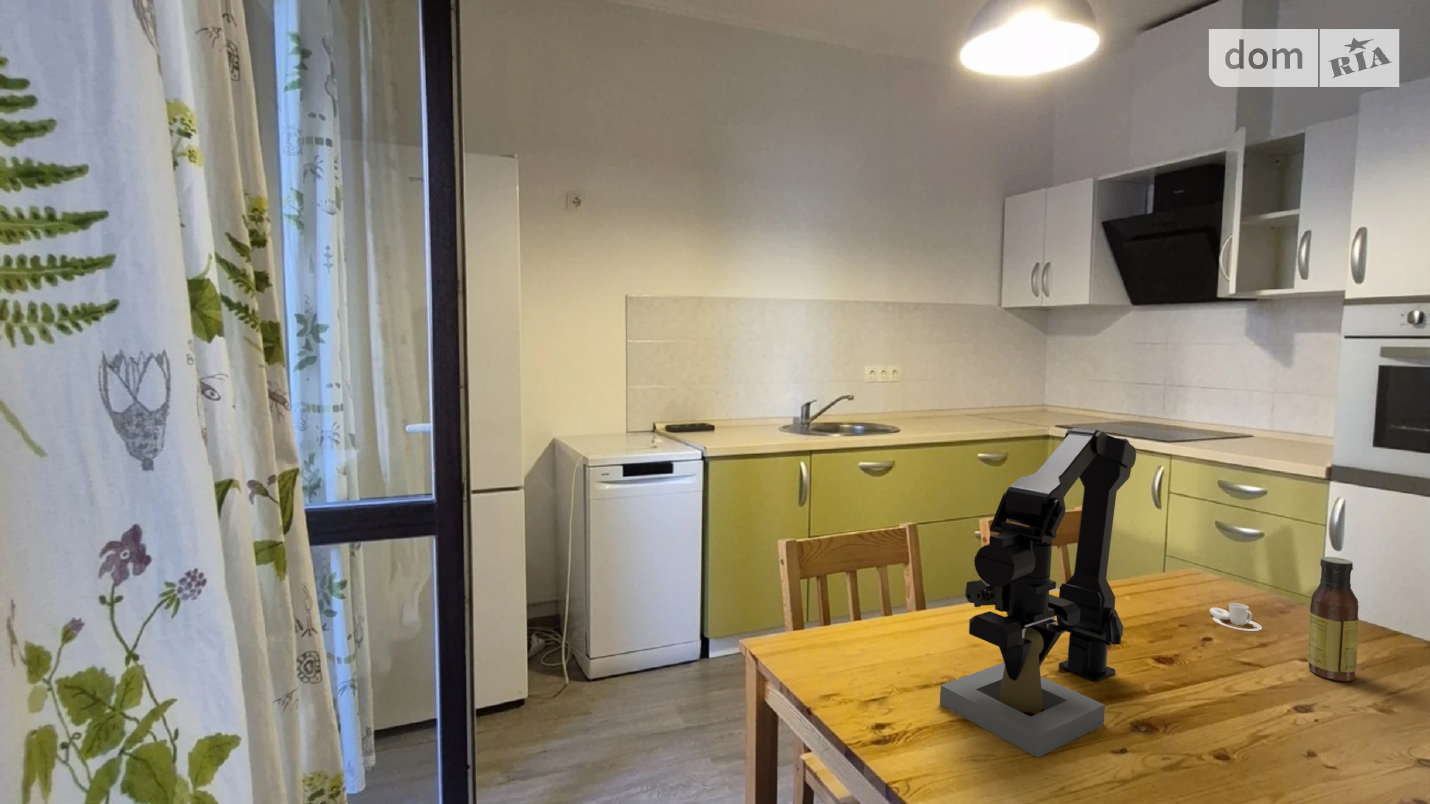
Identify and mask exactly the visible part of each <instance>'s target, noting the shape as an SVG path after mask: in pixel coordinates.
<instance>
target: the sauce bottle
mask: <svg viewBox="0 0 1430 804" xmlns="http://www.w3.org/2000/svg"><path fill="white" fill-rule="evenodd" d="M1319 563H1320V567H1321V572H1320V573H1321V575H1320V580H1319V582H1320V583H1319V585H1318V586H1317V587H1316V589H1315V590H1314V591H1313V593H1312V594H1311V595H1312V596H1311V601H1310V607H1309V622H1308V626H1309V627H1308V645H1307V646H1308V647H1307V661H1308V669H1309V670H1310V672H1311V673H1313V674H1315V675H1317V676H1319V677H1321V678H1324V679H1329V680H1333V681H1337V682H1345V683H1346V682H1352V681H1354V680H1355V677H1356V671H1357V663H1358V662H1357V661H1358V645H1359V644H1358V643H1359V624H1360V623H1359V622H1360V620H1359V619H1360V618H1359V607H1360V606H1359V600H1358V598H1357V597H1356V594H1355V593H1354V591H1353V590H1352V588H1351V586H1352V584H1351V575H1352V574H1351V573H1352V571H1353V570H1354V567H1353V565H1354V564H1353V562H1352V560H1349V559H1346V558H1341V557H1335V556H1323V557H1321V558H1320V562H1319Z"/></svg>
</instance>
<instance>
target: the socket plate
mask: <svg viewBox="0 0 1430 804" xmlns="http://www.w3.org/2000/svg"><path fill="white" fill-rule="evenodd" d="M1004 668H1005V663H1004V661H1003V662H1001V663H998V664H996V665H993V666H990V667H986V668H985V669H981V670H978V671H976V672H974V673H970V674H968V675H965V676H962V677H959V678H957V679H954V680H952V681H948V682H945V683H943V684H941V685H940V692H939V705H940V706H941V707H944V708H946V709H947V710H949V711H951V712H953V713H955V714H957V715H958V716H960V717H962V718H964V719H965V720H968V721H969V722H972V723H973V724H975V725H977V726H979V727H981V728H983V729H984V730H986V731H988V732H990V733H991V734H993V735H995V736H997V737H998V738H1000V739H1003V740H1004V741H1006V742H1007V743H1009V744H1012V745H1013V746H1016V747H1018V748H1019V749H1021V750H1023V751H1024V752H1026V753H1027V754H1030V755H1031V756H1033V757H1036V758H1037V759H1038V758H1040V757H1043V756H1044V755H1046V754H1048V753H1050V752H1052V751H1054V750H1056V749H1058V748H1060V747H1062V746H1064V745H1066V744H1068V743H1071V742H1072V741H1074V740H1076V739H1078V738H1079V737H1082V736H1085V735H1086V734H1088V733H1090V732H1092V731H1094V730H1096V729H1098V728H1100V727H1102V726H1104V724H1105V713H1106V712H1105V709H1106V704H1104V703H1102V702H1100V701H1098V700H1095V699H1093V698H1091V697H1088V696H1086V695H1084V694H1081V693H1079V692H1077V691H1075V690H1073V689H1070V688H1068V687H1066V686H1063V685H1061V684H1058V683H1056V682H1054V681H1052V680H1049V679H1048V678H1046V677H1043V676H1041V688H1042V701H1043V708H1042V709H1043V711H1039V712H1038V713H1036V714H1034V715H1031V716H1030V715H1028V714H1026V713H1025V712H1022V711H1018V710H1016V709H1014V708H1012V707H1010V706H1008V705H1006V704H1004V703H1002V702H1000V700H999V692H1000V687H1001V683H1002V678H1003V673H1004Z"/></svg>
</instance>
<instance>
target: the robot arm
mask: <svg viewBox="0 0 1430 804" xmlns="http://www.w3.org/2000/svg"><path fill="white" fill-rule="evenodd" d="M1136 459H1137V450H1136V447H1135V446H1134V445H1132V444H1131V443H1130V441H1129V440H1128V439H1127V438H1121V437H1115V436H1111V435H1108V434H1107V433H1106V432H1104V431H1100V430H1099V429H1094V428H1082V427H1073V428H1068V429H1067V430H1066V433H1065V435H1064V439H1063V440H1062V441H1061V443H1060V444H1059V445H1058V446H1057V447H1056V449H1055V450H1054V451H1053V452H1052V453H1051V454H1050V456H1049V457H1048V458H1047V460H1045V462H1044V463H1043V464H1042V465H1041V466H1040V468H1038V470H1037V471H1036V472H1035V473H1031V474H1028V475H1024V476H1021V477H1019V478H1018V479H1017V480H1016V481H1014V482H1013V483H1012V484H1010V485H1009V486H1008V488H1007V489H1006V490H1005V491H1004V492H1003V494H1002V497H1001V499H1000V502H999V504H998V507H997V509H996V511H995V514H994V517H993V519H992V521H991V524H990V527H989V531H990V532H993V533H995V534H991V535H989V539H988V540H989V543H988V544H986V545H983V546H982V547H981V548H979V549H978V551H977V552H976V554H975V556H974V561H973V562H974V568H975V571H976V573H977V575H978V577H979V578H980V579H977V580H974V579H973V580H970V581H967V582H966V586H965V592H964V593H965V594H964V596H965V598H966V599H967V602H968V603H970V604H973V606H974V608H980V607H981V606H983V607H984V606H986V607H987V606H994V610H995V611H999V612H1001V613H1002V612H1005V613H1006V616H1003V615H1001V614H999V613H995V612H993V611H990V610H989V611H985V612H983V613H979V614H976V615H974V616H973V617H971V618H969V621H968V634H969V635H971V636H973V637H976V638H977V639H980V640H982V641H985V642H986V643H987V642H988V643H989V644H992V645H994V646H996V647H998V648H999V650H1000V653H1001V656H1002V657H1001V658H1002V659H1003V660H1002V661H1003V662H1004V663H1005V667H1006V670H1007V673H1008V677H1009V678H1010V679H1012V680H1014V681H1016V680H1017V678H1018V676H1019V675H1020V672H1021V670H1022V667H1023V665H1024V662H1025V659H1026V657H1027V654H1028V652H1029V649H1030V646H1031V644H1032V641H1030V640H1027V639H1025V638H1024V636H1025V630H1026V627H1029V628H1032V629H1035V630H1036V631H1038V632H1039V633H1040V634H1041V635H1042V637H1043V642H1044V647H1043V650H1042V652H1041V653H1040V654H1039V664H1040V667H1041V666H1042V664H1043V663H1044V661H1045V659H1046V657H1048V655H1049V654H1050V652H1051V650H1052V649H1053V647H1054V646H1055V644H1056V642H1057V641H1058V640H1059V639H1060V638H1061V636H1062V634H1064V633H1066V632H1067V633H1069V636H1068V647H1067V659H1066V660H1062V661H1061V662H1058V667H1060V668H1061V669H1064V670H1066V671H1069V672H1071V673H1074V674H1076V675H1079V676H1081V677H1083V678H1085V679H1088V680H1091V681H1092V682H1097V681H1100V680H1102V679H1105V678H1108V677H1109V676H1112V675H1114V674H1115V673H1116V671H1117V670H1116V669H1115V668H1112V667H1110V666H1107V663H1108V651H1109V650H1108V649H1109V647H1112V645H1121V644H1122V636H1123V635H1124V632H1123V631H1124V625H1123V623H1122V621H1121V619H1120V616H1119V615H1118V614H1119V613H1118V611H1117V610H1116V609H1115V608H1116V595H1115V593H1114V592H1113V590H1112V588H1111V585H1110V584H1109V581H1108V580H1107V579H1108V578H1107V574H1108V568H1109V567H1108V566H1109V559H1110V558H1109V557H1110V552H1111V551H1110V549H1111V541H1112V532H1113V526H1114V517H1115V510H1116V509H1115V506H1116V500H1117V499H1116V498H1117V493H1118V491H1119V490H1120V489H1121V487H1122V486H1123V485H1125V483H1126V482H1127V481H1128V480H1129V478H1130V477H1131V472H1132V468H1134V465H1135V462H1136ZM1078 479H1079V480H1080V482H1081V484H1082V485H1083V494H1082V495H1083V496H1082V505H1081V511H1080V512H1081V513H1080V519H1079V520H1080V521H1079V528H1078V539H1077V545H1076V555H1075V561H1074V562H1075V563H1074V571H1073V574H1072V576H1071V577H1069V578H1068V580H1067V581H1066V582H1063V583H1061V585H1060V587H1059V591H1058V593H1059V595H1058V596H1057V595H1053V594H1050V591H1052V590H1055V589H1056V588H1057V581H1055V580H1053V579H1051V568H1052V553H1053V552H1052V551H1053V550H1052V549H1053V540H1055V539H1056V538H1057V537H1058V535H1057V531H1058V529H1059V527H1060V525H1061V523H1062V521H1063V518H1064V517H1065V514H1066V510H1067V509H1066V502H1065V497H1066V495H1067V494H1068V492H1069V491H1070V489H1071V488H1072V487H1073V486H1074V485H1075V483H1076V481H1077V480H1078ZM1007 521H1008V522H1007ZM997 533H998V534H997Z"/></svg>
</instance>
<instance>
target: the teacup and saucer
mask: <svg viewBox="0 0 1430 804" xmlns="http://www.w3.org/2000/svg"><path fill="white" fill-rule="evenodd" d="M1228 605H1229V606H1228V607H1229V609H1228V610H1226V609H1223V608H1220V607H1210V608H1209V614H1210V616H1212V620H1213V621H1214V622H1215V623H1217V624H1218V625H1221V626H1224V627H1227V628H1230V629H1232V630H1233V629H1234V630H1239V631H1245V632H1260V631H1263V627H1262V625H1260V624H1259V623H1257V622H1255V621H1253V620H1252V619H1253V617H1254V616H1253V613H1252V612H1251V611H1250V607H1249V606H1248V605H1246V604H1243V603H1240V602H1239V603H1238V602H1230V603H1229V604H1228ZM1248 615H1249V616H1248ZM1221 620H1222V621H1229V620H1230V621H1229V622H1230V623H1231V624H1233V625H1235V626H1231V625H1228V624H1226V623H1224V622H1222V621H1221ZM1246 624H1250V625H1252V624H1253V625H1252V626H1253V627H1252V628H1241V627H1242V626H1244V625H1246ZM1236 626H1241V627H1236ZM1254 627H1257V628H1254ZM1259 630H1260V631H1259Z"/></svg>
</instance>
